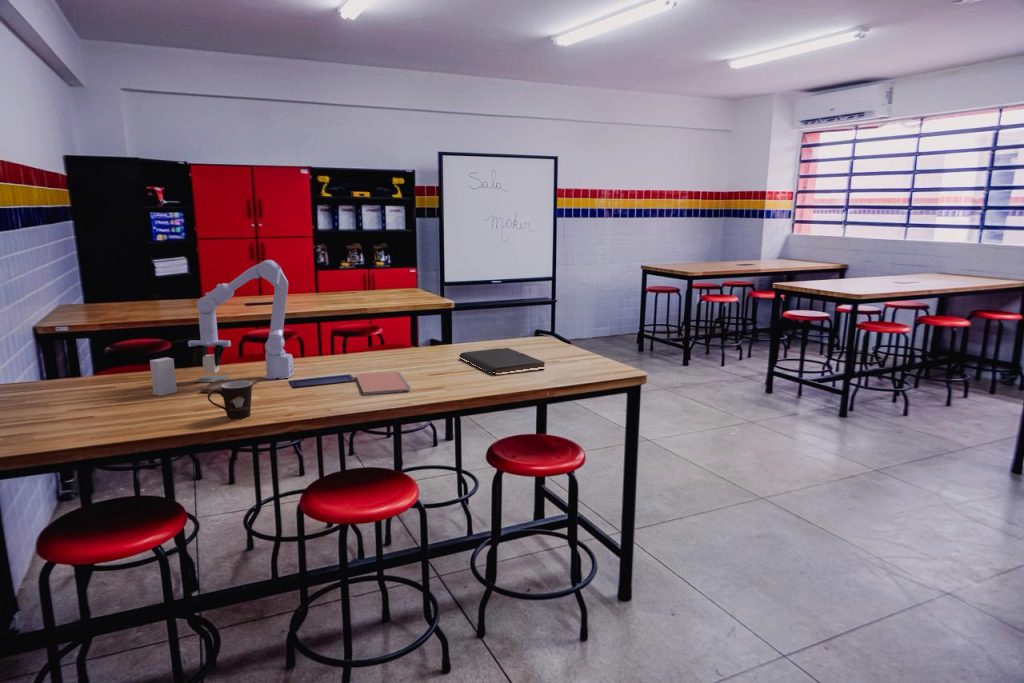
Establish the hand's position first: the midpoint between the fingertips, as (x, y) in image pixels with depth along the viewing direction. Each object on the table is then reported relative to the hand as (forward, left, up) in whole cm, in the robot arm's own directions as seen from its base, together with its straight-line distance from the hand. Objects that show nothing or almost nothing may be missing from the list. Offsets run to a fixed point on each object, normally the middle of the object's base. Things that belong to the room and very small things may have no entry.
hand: (211, 365), depth 231 cm
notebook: (-64, +6, -6) cm, 64 cm away
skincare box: (+8, +19, -6) cm, 21 cm away
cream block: (0, 0, -2) cm, 2 cm away
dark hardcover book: (-108, -27, -6) cm, 112 cm away
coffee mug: (-25, +45, -6) cm, 52 cm away
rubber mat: (0, 0, -6) cm, 6 cm away
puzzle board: (-11, +12, -6) cm, 17 cm away
